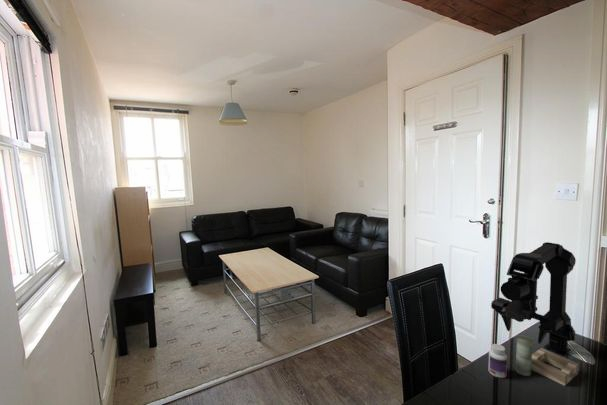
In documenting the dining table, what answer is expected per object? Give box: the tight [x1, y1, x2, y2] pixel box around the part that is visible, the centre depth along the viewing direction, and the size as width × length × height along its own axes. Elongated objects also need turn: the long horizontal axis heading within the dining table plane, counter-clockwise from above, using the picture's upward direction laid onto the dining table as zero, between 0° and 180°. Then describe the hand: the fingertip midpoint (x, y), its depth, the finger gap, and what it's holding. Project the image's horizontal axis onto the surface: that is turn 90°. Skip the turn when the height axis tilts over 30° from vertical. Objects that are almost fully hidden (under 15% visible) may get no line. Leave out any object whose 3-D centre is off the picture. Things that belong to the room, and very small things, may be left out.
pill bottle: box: [487, 343, 508, 379], centre depth 104 cm, size 5×5×10 cm
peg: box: [515, 334, 534, 377], centre depth 104 cm, size 4×4×12 cm
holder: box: [531, 347, 580, 387], centre depth 104 cm, size 11×11×4 cm
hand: (523, 336), depth 100 cm, fingers open, 9 cm apart
